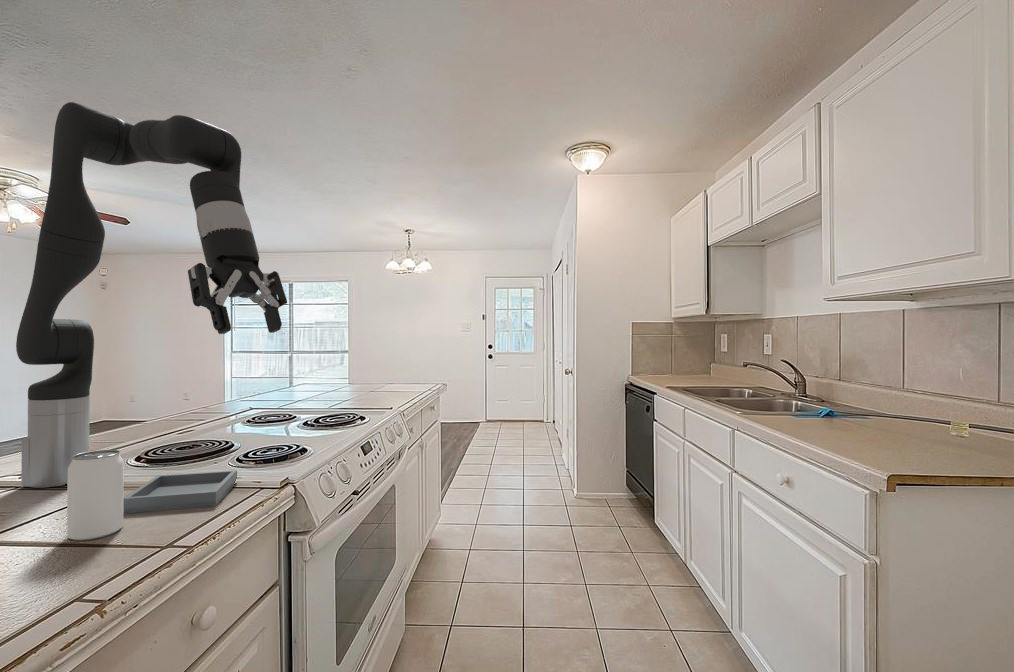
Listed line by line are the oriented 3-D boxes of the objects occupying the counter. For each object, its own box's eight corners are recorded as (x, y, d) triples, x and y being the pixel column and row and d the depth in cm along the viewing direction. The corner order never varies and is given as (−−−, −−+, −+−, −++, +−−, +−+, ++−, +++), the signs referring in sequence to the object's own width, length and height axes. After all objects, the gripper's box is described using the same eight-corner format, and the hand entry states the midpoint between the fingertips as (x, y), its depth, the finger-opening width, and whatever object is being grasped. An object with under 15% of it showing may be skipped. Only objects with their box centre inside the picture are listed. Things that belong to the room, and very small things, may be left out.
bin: (122, 513, 80) (122, 498, 80) (157, 488, 94) (157, 475, 94) (215, 505, 84) (216, 491, 84) (237, 482, 98) (237, 470, 98)
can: (90, 543, 69) (91, 460, 69) (55, 539, 70) (55, 458, 70) (134, 526, 75) (134, 450, 75) (100, 522, 76) (101, 448, 76)
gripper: (253, 252, 84) (275, 338, 82) (166, 239, 72) (190, 341, 70) (280, 234, 81) (304, 323, 79) (195, 217, 69) (221, 323, 67)
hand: (251, 331), depth 75 cm, fingers open, 8 cm apart
